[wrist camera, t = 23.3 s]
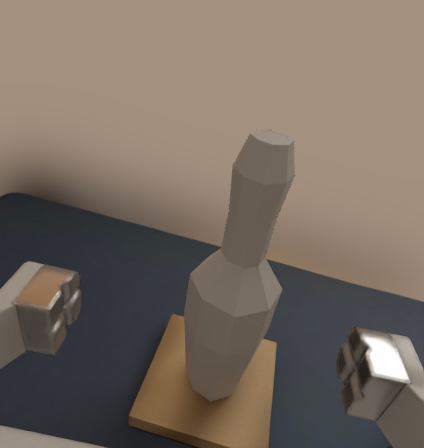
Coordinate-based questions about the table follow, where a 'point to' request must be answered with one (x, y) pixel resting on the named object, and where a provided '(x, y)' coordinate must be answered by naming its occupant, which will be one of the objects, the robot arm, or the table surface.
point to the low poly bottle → (238, 271)
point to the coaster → (204, 399)
